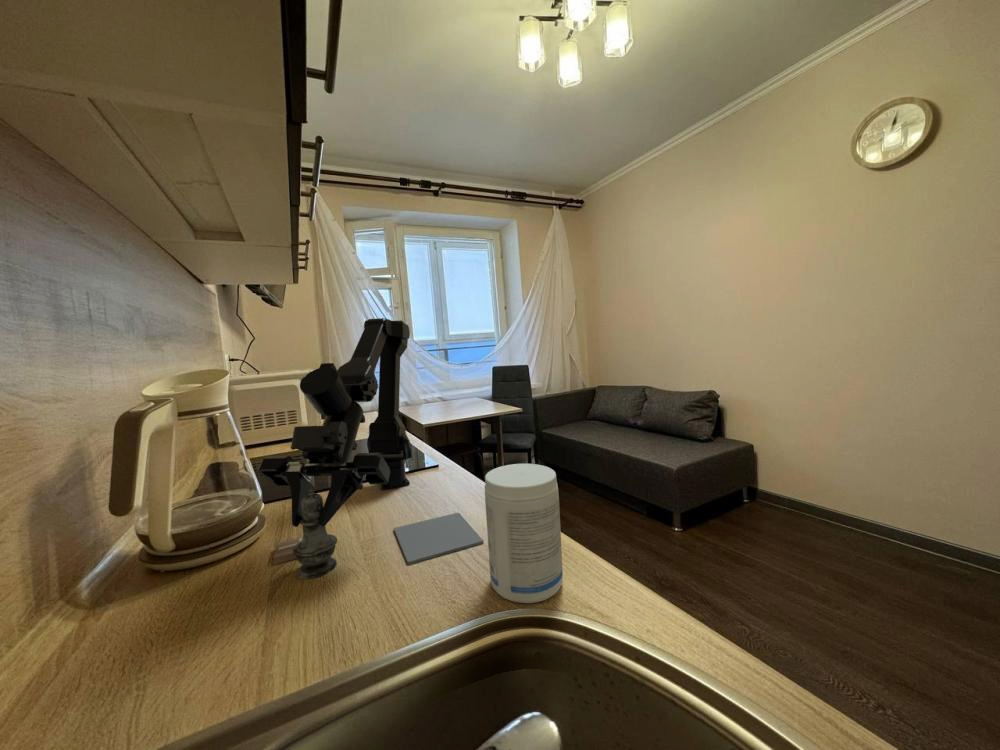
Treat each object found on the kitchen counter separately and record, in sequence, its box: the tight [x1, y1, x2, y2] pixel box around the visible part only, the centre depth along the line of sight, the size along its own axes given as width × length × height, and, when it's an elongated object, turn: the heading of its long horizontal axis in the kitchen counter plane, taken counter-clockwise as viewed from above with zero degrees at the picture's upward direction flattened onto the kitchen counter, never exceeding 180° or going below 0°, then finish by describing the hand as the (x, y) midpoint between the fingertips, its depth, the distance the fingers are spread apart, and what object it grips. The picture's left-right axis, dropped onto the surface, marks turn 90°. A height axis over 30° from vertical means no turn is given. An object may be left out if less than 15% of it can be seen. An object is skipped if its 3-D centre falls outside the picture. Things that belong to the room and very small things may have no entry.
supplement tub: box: [484, 463, 564, 604], centre depth 49 cm, size 10×10×15 cm
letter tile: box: [273, 536, 303, 565], centre depth 60 cm, size 5×5×2 cm
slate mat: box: [393, 512, 484, 565], centre depth 63 cm, size 12×12×1 cm
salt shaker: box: [293, 488, 338, 580], centre depth 54 cm, size 6×6×12 cm
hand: (308, 525), depth 53 cm, fingers closed on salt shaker, 4 cm apart
